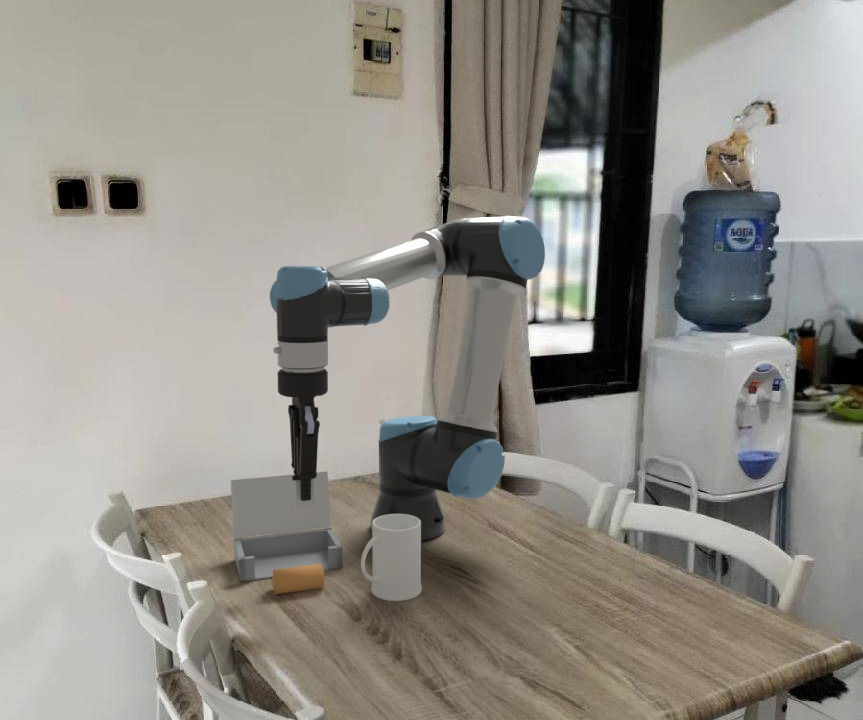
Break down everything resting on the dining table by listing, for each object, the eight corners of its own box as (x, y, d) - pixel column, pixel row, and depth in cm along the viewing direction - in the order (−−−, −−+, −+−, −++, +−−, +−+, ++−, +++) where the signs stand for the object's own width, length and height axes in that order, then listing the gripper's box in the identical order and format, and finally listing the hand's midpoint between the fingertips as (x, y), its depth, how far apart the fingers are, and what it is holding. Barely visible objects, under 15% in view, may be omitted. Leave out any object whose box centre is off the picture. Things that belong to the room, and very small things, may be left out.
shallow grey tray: (331, 547, 147) (331, 527, 146) (343, 568, 137) (342, 547, 137) (234, 559, 141) (234, 539, 140) (240, 582, 131) (239, 559, 131)
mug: (374, 612, 121) (374, 539, 119) (344, 593, 127) (344, 524, 126) (432, 591, 128) (432, 523, 127) (401, 575, 135) (401, 509, 133)
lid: (331, 526, 146) (329, 526, 147) (327, 471, 147) (326, 471, 148) (233, 537, 140) (233, 537, 141) (230, 480, 141) (230, 479, 143)
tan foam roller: (319, 582, 132) (319, 560, 132) (324, 591, 128) (324, 568, 128) (273, 589, 129) (272, 566, 129) (276, 598, 126) (275, 574, 125)
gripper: (271, 363, 121) (274, 507, 124) (284, 376, 109) (286, 535, 112) (318, 361, 124) (319, 502, 127) (336, 373, 111) (337, 529, 115)
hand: (304, 517), depth 119 cm, fingers closed
